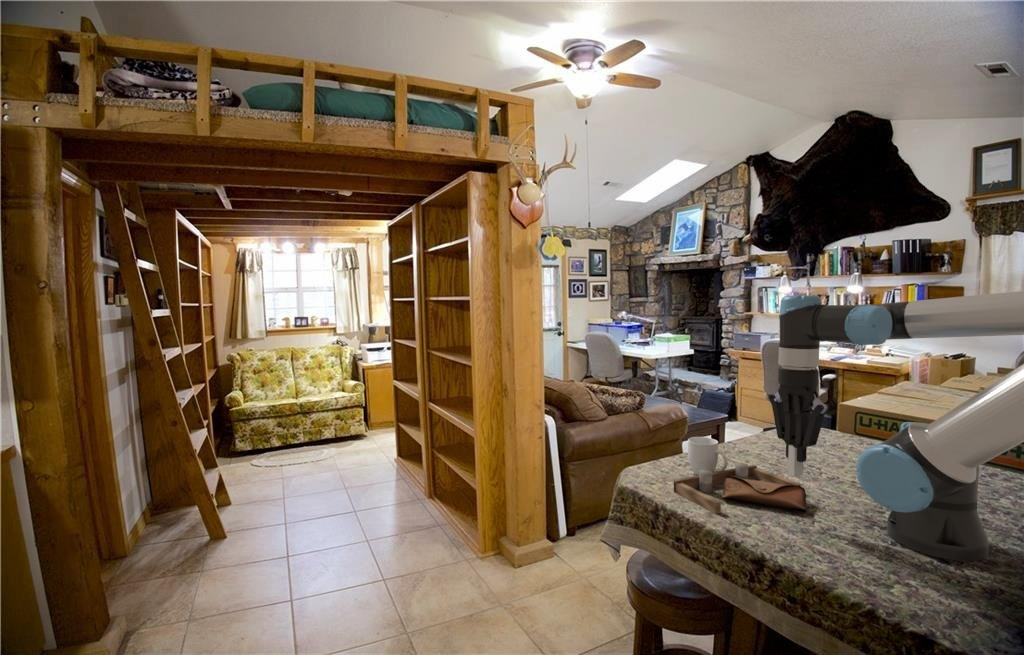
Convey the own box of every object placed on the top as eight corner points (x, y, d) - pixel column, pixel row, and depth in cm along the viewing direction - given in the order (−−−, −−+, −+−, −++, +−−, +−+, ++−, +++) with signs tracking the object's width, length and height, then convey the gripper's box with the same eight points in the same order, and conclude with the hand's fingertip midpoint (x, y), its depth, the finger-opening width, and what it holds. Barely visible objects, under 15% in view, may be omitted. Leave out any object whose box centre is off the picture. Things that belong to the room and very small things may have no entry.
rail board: (800, 494, 120) (800, 474, 120) (715, 513, 111) (715, 492, 110) (753, 475, 133) (753, 457, 133) (673, 491, 124) (673, 472, 123)
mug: (733, 475, 134) (733, 442, 133) (720, 483, 128) (721, 448, 128) (695, 466, 141) (695, 435, 141) (682, 473, 136) (682, 440, 135)
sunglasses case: (720, 496, 116) (722, 469, 119) (722, 505, 121) (723, 478, 125) (809, 510, 108) (808, 480, 111) (807, 518, 113) (805, 489, 116)
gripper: (840, 370, 100) (836, 482, 102) (784, 362, 112) (781, 462, 114) (814, 372, 97) (811, 488, 99) (759, 364, 109) (757, 467, 111)
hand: (795, 474), depth 106 cm, fingers closed
